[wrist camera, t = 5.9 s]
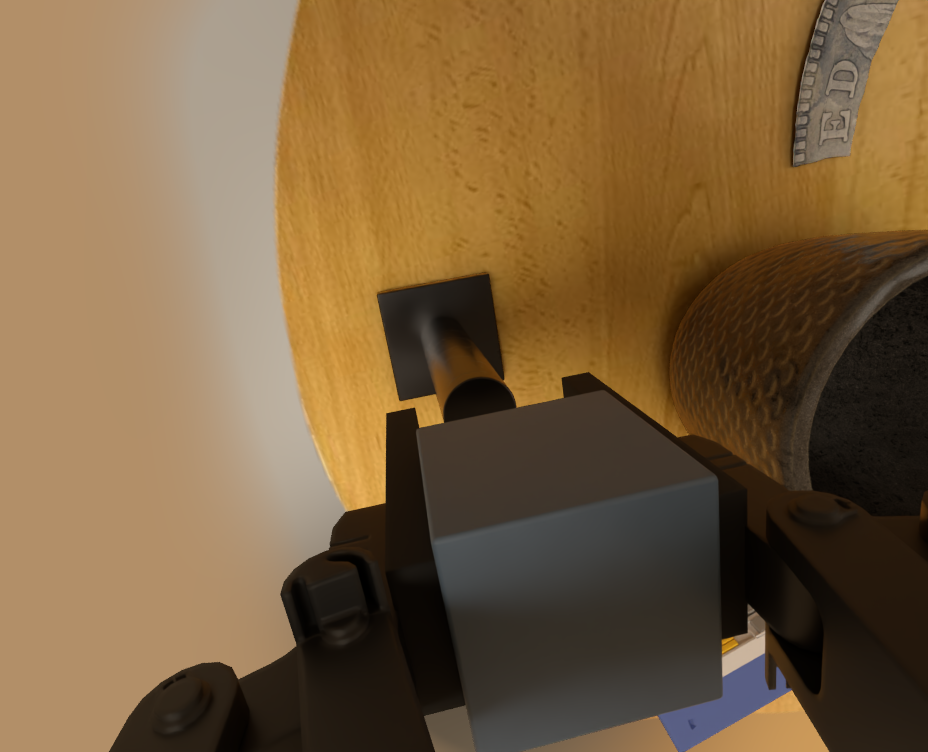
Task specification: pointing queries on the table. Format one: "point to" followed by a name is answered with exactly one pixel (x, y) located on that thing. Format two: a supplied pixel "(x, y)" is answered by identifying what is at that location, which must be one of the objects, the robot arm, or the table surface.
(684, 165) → the table surface
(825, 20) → the coin fragment
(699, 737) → the walkman
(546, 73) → the table surface
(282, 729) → the robot arm
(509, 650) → the block
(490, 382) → the stand
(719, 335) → the planter
